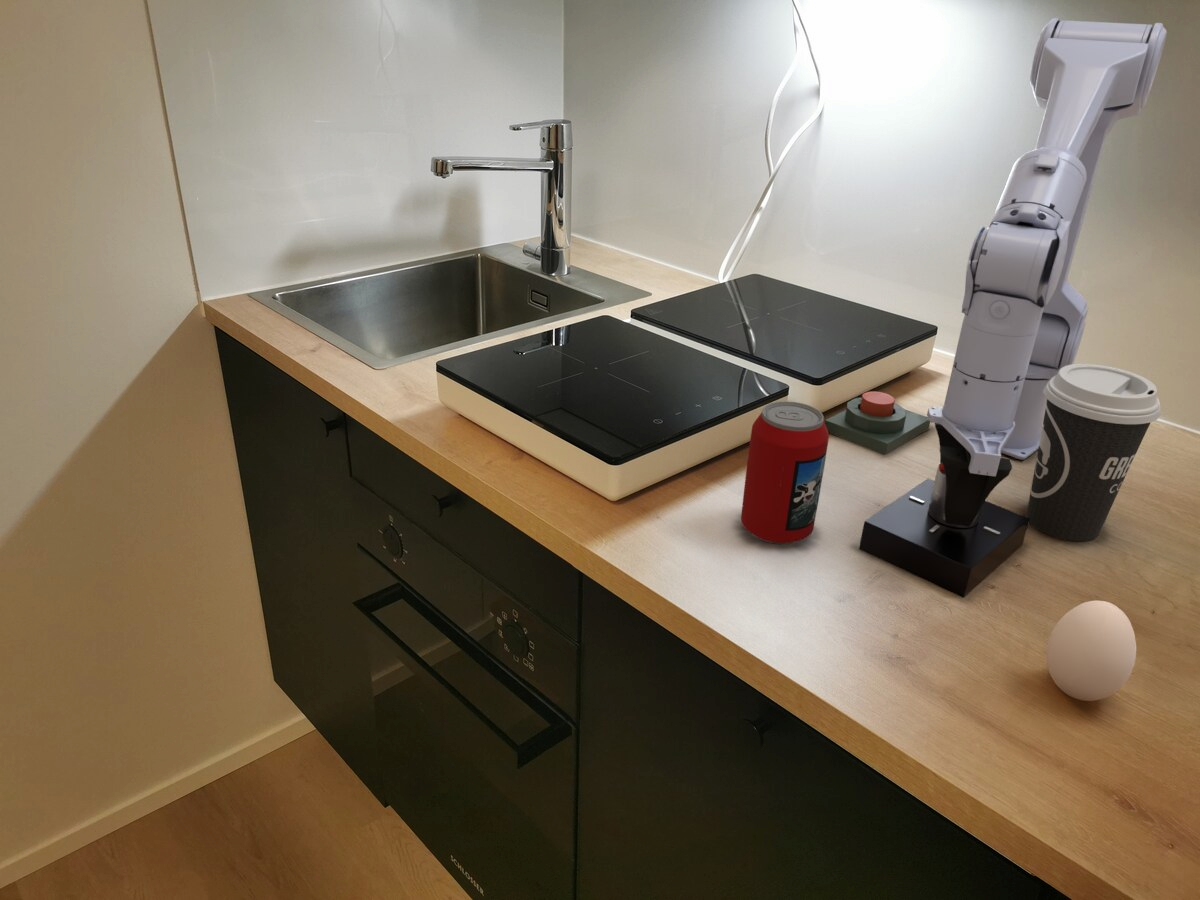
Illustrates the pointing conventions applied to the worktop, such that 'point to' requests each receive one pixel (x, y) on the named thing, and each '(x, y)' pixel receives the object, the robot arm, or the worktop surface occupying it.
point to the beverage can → (784, 472)
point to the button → (877, 404)
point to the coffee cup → (1087, 446)
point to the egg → (1091, 651)
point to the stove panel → (942, 541)
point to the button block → (877, 427)
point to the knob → (943, 500)
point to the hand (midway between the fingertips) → (954, 508)
